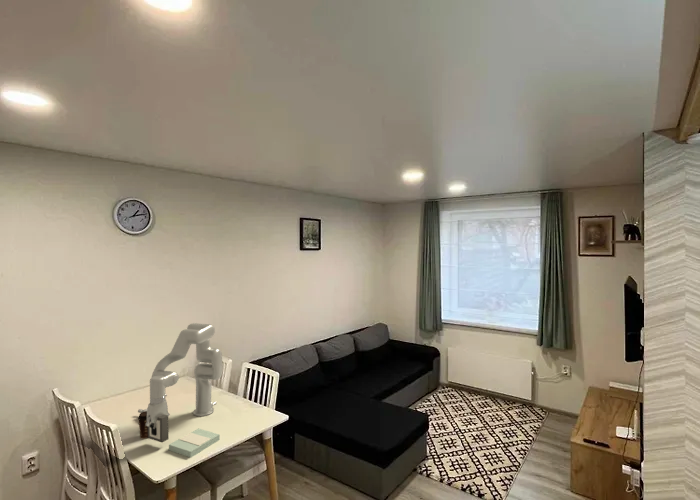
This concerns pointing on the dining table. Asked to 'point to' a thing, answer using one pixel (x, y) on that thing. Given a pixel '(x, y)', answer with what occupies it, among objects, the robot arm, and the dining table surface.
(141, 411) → the bunny figurine
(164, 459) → the dining table surface
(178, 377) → the robot arm
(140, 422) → the coffee cup
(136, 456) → the dining table surface
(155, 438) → the picture frame
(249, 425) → the dining table surface
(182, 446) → the sage stand
